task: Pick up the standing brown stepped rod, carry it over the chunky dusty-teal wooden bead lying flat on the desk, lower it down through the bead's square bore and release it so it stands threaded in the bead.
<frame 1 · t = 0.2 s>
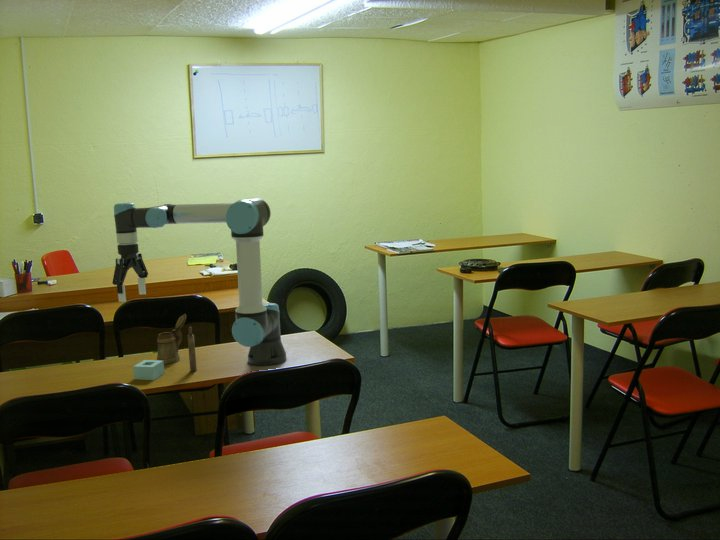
hand: (132, 298, 269), 28 cm above the table, fingers open, 13 cm apart
brown stepped rod: (193, 370, 266), on the table
wooden mug: (173, 360, 282), on the table
bead: (149, 376, 261), on the table
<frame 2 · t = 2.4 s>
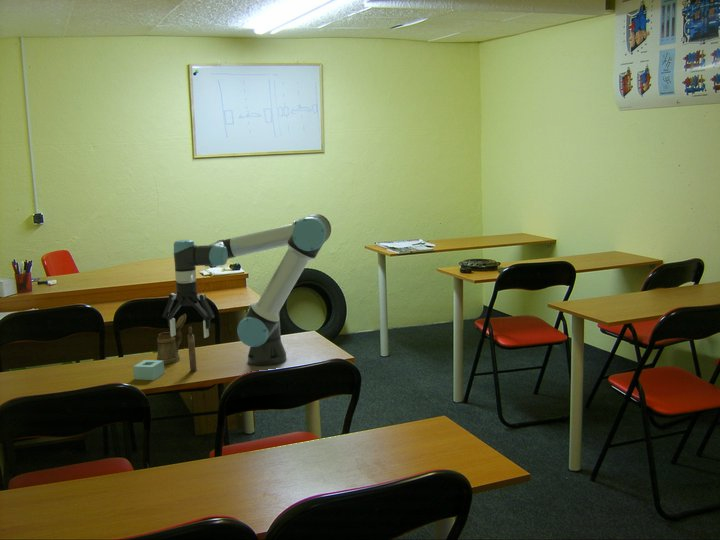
hand: (189, 336, 264), 14 cm above the table, fingers open, 13 cm apart
nothing on the table moved.
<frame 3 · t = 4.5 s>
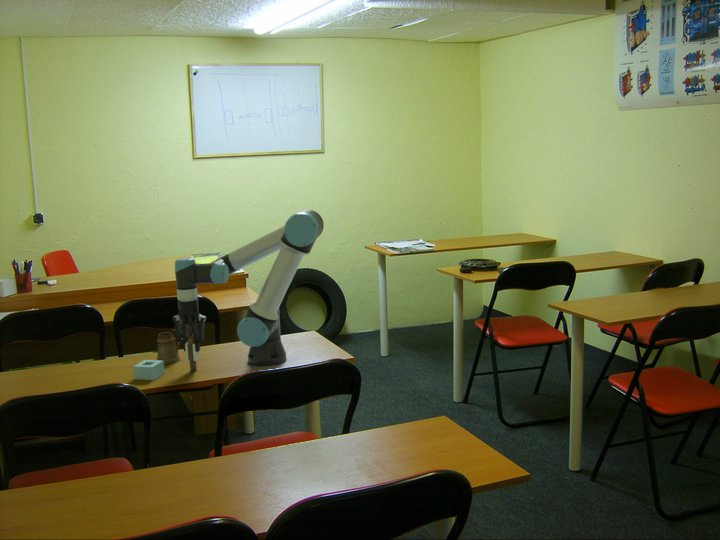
hand: (192, 359, 265), 4 cm above the table, fingers closed on brown stepped rod, 2 cm apart
brown stepped rod: (193, 370, 266), on the table, touching gripper
everything else where it was.
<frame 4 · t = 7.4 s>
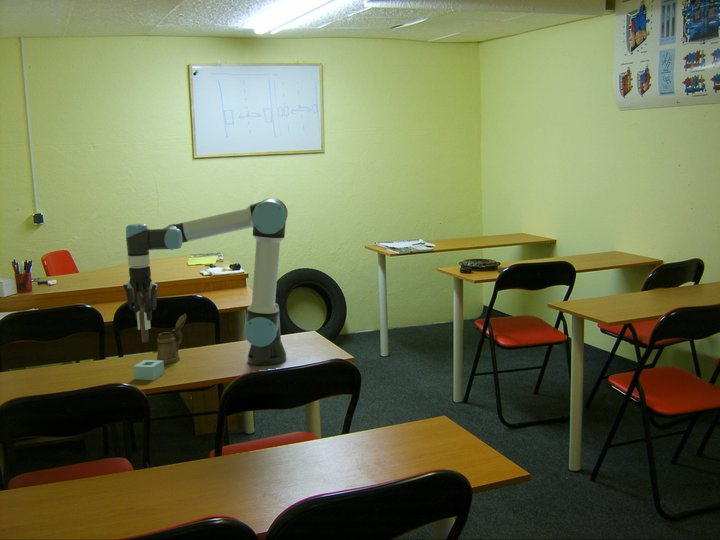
hand: (144, 328, 258), 18 cm above the table, fingers closed on brown stepped rod, 2 cm apart
brown stepped rod: (145, 341, 259), point 14 cm above the table, touching gripper
everything else where it was.
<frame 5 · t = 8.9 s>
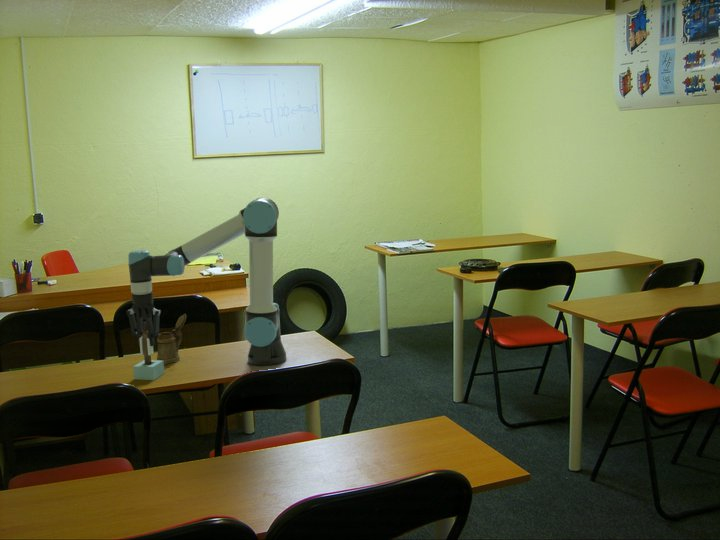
hand: (147, 354, 260), 9 cm above the table, fingers closed on brown stepped rod, 2 cm apart
brown stepped rod: (148, 367, 261), point 4 cm above the table, touching gripper
everything else where it was.
when the fingers open (6 cm above the table, at t = 10.2 s): brown stepped rod drops 1 cm, resting in bead.
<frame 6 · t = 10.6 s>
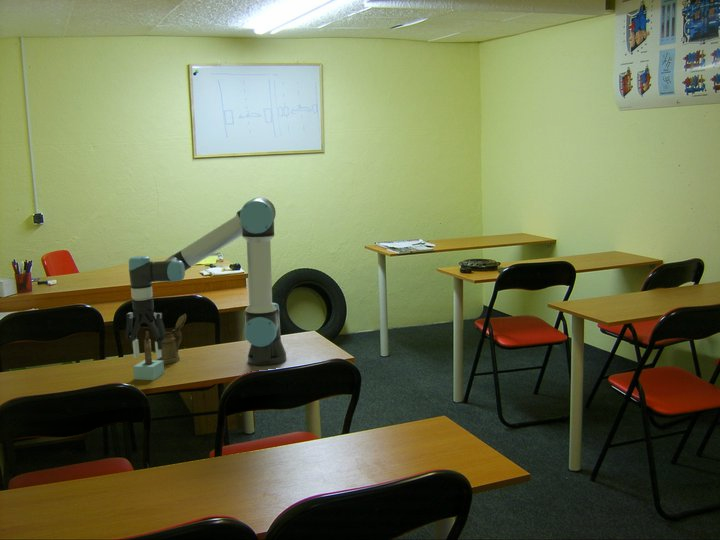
hand: (147, 357, 260), 7 cm above the table, fingers open, 8 cm apart
brown stepped rod: (149, 376, 261), resting in bead
everything else where it was.
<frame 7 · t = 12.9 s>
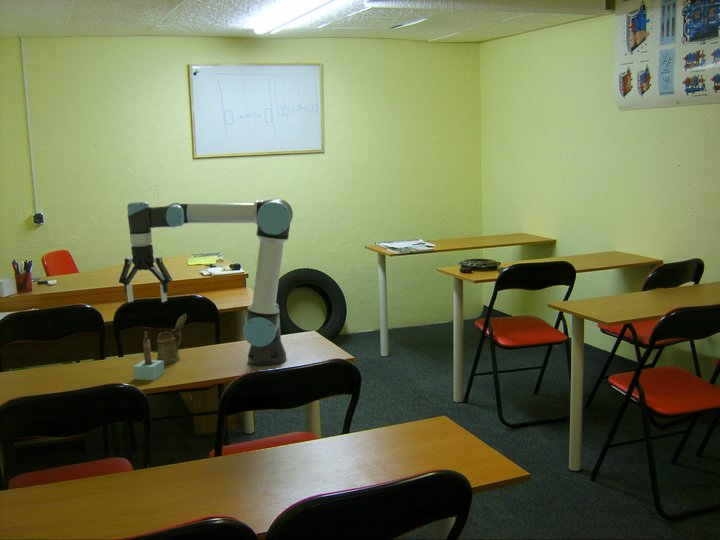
hand: (147, 301, 257), 28 cm above the table, fingers open, 13 cm apart
nothing on the table moved.
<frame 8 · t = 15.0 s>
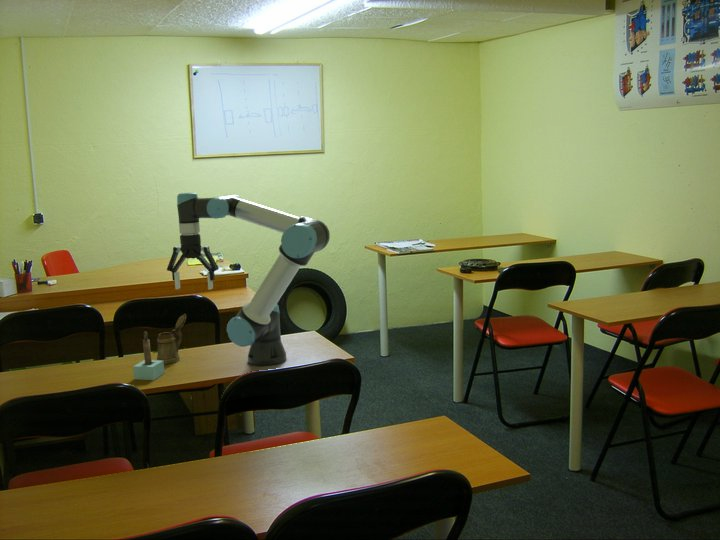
hand: (194, 289, 266), 31 cm above the table, fingers open, 13 cm apart
nothing on the table moved.
at the end: brown stepped rod 0.1 cm from the bead (horizontally); brown stepped rod resting in bead; the gripper is holding nothing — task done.
